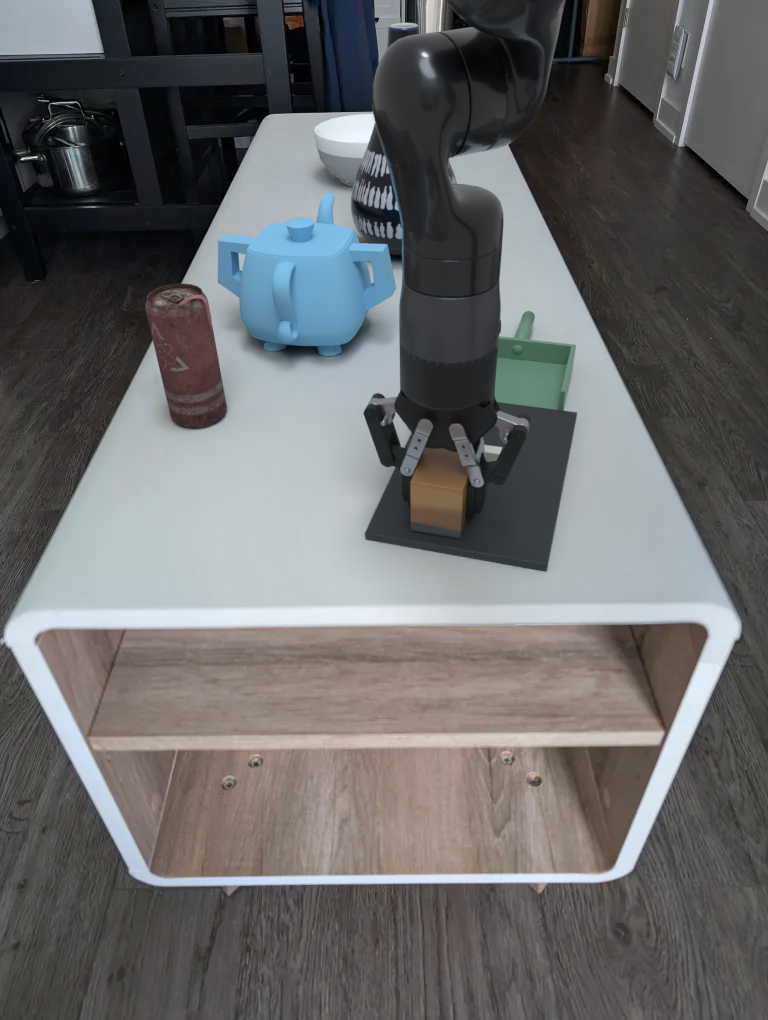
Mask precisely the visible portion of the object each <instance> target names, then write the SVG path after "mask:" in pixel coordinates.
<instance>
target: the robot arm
mask: <svg viewBox="0 0 768 1020" xmlns="http://www.w3.org/2000/svg"><path fill="white" fill-rule="evenodd" d="M446 2H447V3H448V5H449V7H450V8H451V9H452V11H453V12H454V13H455V15H457V16H458V17H459V19H461V20H462V21H463V22H464V23H466V24H467V25H468V26H470V27H462V28H456V29H449V30H443V31H434V32H424V33H419V34H416V35H410V36H407V37H404V38H401V39H398V40H397V41H395V42H394V43H393V44H391V45H390V46H389V48H388V49H387V48H386V50H385V51H384V52H383V54H382V56H381V58H380V59H379V62H378V65H377V67H376V69H375V73H374V75H373V83H372V88H371V108H372V114H373V115H374V119H375V124H376V128H377V132H378V135H379V138H380V142H381V145H382V148H383V152H384V155H385V158H386V161H387V165H388V169H389V172H390V176H391V180H392V184H393V188H394V192H395V196H396V201H397V205H398V210H399V214H400V219H401V225H402V259H401V272H402V273H401V289H400V296H399V305H398V319H399V320H398V331H399V333H398V334H399V392H398V394H397V396H391V397H385V395H384V394H382V393H380V392H375V393H374V394H372V396H371V398H370V399H369V401H368V403H367V404H366V407H365V409H364V410H363V417H364V419H365V423H366V426H367V428H368V431H369V434H370V437H371V440H372V443H373V445H374V449H375V452H376V454H377V457H378V459H379V462H380V464H381V465H382V466H383V467H385V468H391V467H394V468H395V467H396V468H398V469H399V470H400V471H401V473H402V497H403V499H404V501H408V502H409V507H410V508H411V496H410V482H411V479H412V477H413V475H414V472H415V470H416V468H417V465H418V463H419V460H420V457H421V455H422V453H423V450H424V448H431V449H438V448H444V449H446V450H449V451H452V452H458V455H459V458H460V461H461V464H462V466H463V467H465V469H466V472H467V475H468V478H469V483H468V486H467V500H466V517H468V518H474V515H475V513H479V514H480V512H481V511H482V509H483V506H484V502H485V497H486V484H488V483H492V482H493V483H494V484H496V485H503V484H504V483H505V481H506V479H507V477H508V475H509V473H510V471H511V469H512V467H513V465H514V462H515V460H516V458H517V456H518V454H519V452H520V450H521V448H522V446H523V444H524V441H525V439H526V436H527V433H528V429H529V425H530V422H531V418H530V417H529V415H527V414H524V413H521V414H519V415H517V417H515V416H512V415H510V414H507V413H504V412H502V411H500V408H499V405H498V403H497V401H496V399H495V381H496V368H497V355H498V341H499V336H500V334H501V332H502V319H501V316H502V315H501V314H502V313H501V312H502V304H501V302H502V301H501V288H500V287H501V286H500V281H501V279H500V278H501V266H502V253H503V236H504V223H505V222H504V210H503V207H502V202H501V200H500V199H499V197H497V195H495V193H493V192H492V191H491V190H488V189H486V188H484V187H481V186H478V185H472V184H467V183H457V184H454V183H451V180H450V177H449V173H448V161H449V162H450V159H453V158H456V157H462V156H466V155H467V156H468V155H471V154H477V153H482V152H487V151H493V150H497V149H501V148H504V147H506V146H508V145H510V144H511V143H513V142H515V141H517V139H519V138H520V137H521V136H523V134H524V133H525V132H526V131H527V130H528V129H529V128H530V127H531V126H532V124H533V122H534V121H535V120H536V118H537V117H538V115H539V113H540V111H541V109H542V106H543V104H544V100H545V97H546V94H547V89H548V84H549V80H550V79H549V78H550V74H551V69H552V66H553V65H552V64H553V59H554V55H555V51H556V47H557V43H558V40H559V34H560V28H561V24H562V17H563V14H564V13H563V12H564V8H565V5H566V0H446ZM396 414H397V416H398V417H399V418H400V419H401V421H402V422H403V423H404V425H405V426H406V427H407V429H408V430H409V431H410V433H412V434H413V438H412V440H411V443H410V445H409V448H408V450H407V449H405V447H403V446H402V445H401V443H400V442H401V441H400V438H399V436H398V432H397V429H396V426H395V423H394V420H395V417H396ZM493 426H496V427H497V428H498V429H499V431H500V434H499V438H500V439H501V441H502V443H504V445H503V448H502V450H501V452H500V454H499V456H498V459H497V461H490V462H488V459H487V456H486V453H485V449H484V439H483V436H484V435H485V434H486V433H487V432H488V431H489V430H490V429H491V428H492V427H493Z"/></svg>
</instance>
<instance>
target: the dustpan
mask: <svg viewBox="0 0 768 1020" xmlns="http://www.w3.org/2000/svg"><path fill="white" fill-rule="evenodd" d="M535 320H536V315H535V313H534V312H533V311H532V310H526V311H524V312H523V314H522V315H521V318H520V321H519V323H518V327H517V329H516V333H515V336H514V337H510V336H501V335H499V341H498V355H497V368H496V381H495V399H496V401H497V402H501V403H509V404H517V405H524V406H532V407H540V408H547V409H555V410H563V411H564V409H565V404H566V400H567V395H568V391H569V387H570V382H571V377H572V373H573V367H574V362H575V355H576V347H577V345H576V344H573V343H566V342H565V343H564V342H555V341H547V340H537V339H530V335H531V333H532V329H533V326H534V323H535Z"/></svg>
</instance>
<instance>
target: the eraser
mask: <svg viewBox="0 0 768 1020" xmlns="http://www.w3.org/2000/svg"><path fill="white" fill-rule="evenodd" d="M468 483H469V478H468V475H467V472H466V469H465V467H463V466H462V464H461V461H460V458H459V455H458V452H452V451H449V450H446V449H444V448H438V449H431V448H425V449H424V452H423V454H422V456H421V459H420V461H419V463H418V465H417V468H416V470H415V472H414V475H413V477H412V479H411V482H410V496H411V531H417V532H423V533H428V534H434V535H440V536H445V537H451V538H457V539H461V536H462V533H463V530H464V527H465V524H466V521H467V518H468V517H466V500H467V486H468Z"/></svg>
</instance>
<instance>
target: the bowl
mask: <svg viewBox="0 0 768 1020" xmlns="http://www.w3.org/2000/svg"><path fill="white" fill-rule="evenodd" d="M374 124H375V119H374V115H373V113H361V114H360V113H359V114H351V115H349V114H348V115H343V116H339V117H333V118H330V119H327V120H324V121H322V122H320V123H318V124H316V126H315V127H314V130H313V133H314V134H313V135H314V136H313V137H314V140H315V142H314V143H315V146H316V149H317V152H318V156H319V159H320V161H321V162H322V164H323V165H324V167H325V168H326V169H327V171H328V172H329V173H330V174H331V175H333V176H334V177H336V178H337V179H339V182H340V183H342V184H343V185H345V186H348V187H352V188H353V184H354V180H355V177H356V174H357V172H358V169H359V166H360V164H361V161H362V159H363V156H364V153H365V151H366V148H367V145H368V143H369V140H370V137H371V134H372V131H373V128H374ZM347 181H348V182H347Z"/></svg>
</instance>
